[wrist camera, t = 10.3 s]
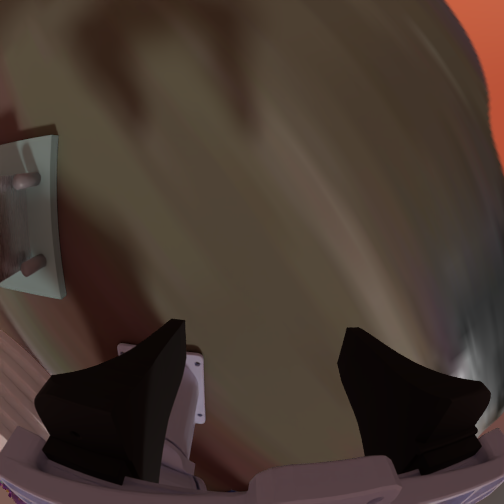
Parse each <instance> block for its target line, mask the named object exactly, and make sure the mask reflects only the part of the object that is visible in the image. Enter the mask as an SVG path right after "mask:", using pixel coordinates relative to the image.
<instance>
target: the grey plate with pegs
mask: <svg viewBox="0 0 504 504" xmlns="http://www.w3.org/2000/svg"><path fill="white" fill-rule="evenodd" d="M57 150H58V135H48V136H42V137H36V138H31V139H26V140H21V141H16V142H11V143H7V144H3V145H0V176H4V175H12V174H16V175H15V176H14V178H13V186H14V188H15V189H16V190H19V189H24V188H26V196H27V216H28V229H29V239H30V247H31V255H32V258H31V259H29V260H27V261H25V262H24V263H22V264H21V267H20V268H21V271H19V272H17V273H15V274H14V275H12V276H10V277H9V278H7V279H6V280H4V281H2V282H1V283H0V287H4V288H8V289H12V290H17V291H21V292H26V293H31V294H36V295H41V296H46V297H51V298H56V299H62V298H63V297H65V296H66V295H67V294H66V288H65V282H64V276H63V269H62V261H61V252H60V242H59V231H58V215H57ZM20 173H22V174H20Z"/></svg>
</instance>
